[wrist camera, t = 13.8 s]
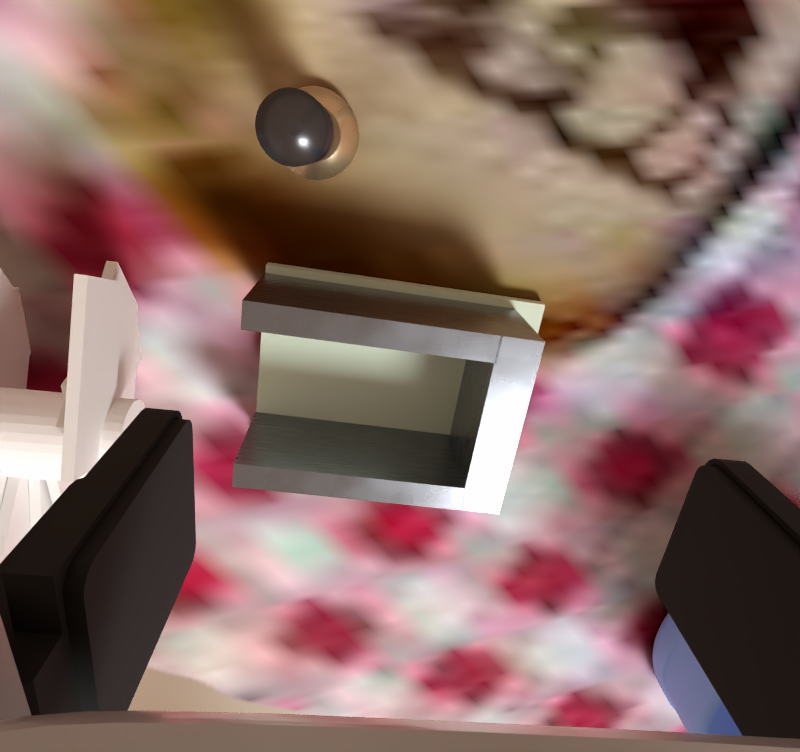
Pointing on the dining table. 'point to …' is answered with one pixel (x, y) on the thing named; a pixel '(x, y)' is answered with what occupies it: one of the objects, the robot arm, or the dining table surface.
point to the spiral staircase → (64, 398)
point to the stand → (308, 131)
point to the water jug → (688, 684)
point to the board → (368, 367)
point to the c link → (390, 447)
